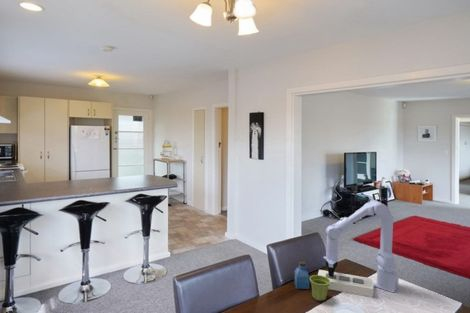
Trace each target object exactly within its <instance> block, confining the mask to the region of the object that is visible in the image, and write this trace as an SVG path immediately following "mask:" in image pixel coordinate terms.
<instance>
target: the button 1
mask: <svg viewBox="0 0 470 313" xmlns="http://www.w3.org/2000/svg"><path fill="white" fill-rule="evenodd" d="M326 277H327V278H331V279H336V275H333V276H329V274H328V273H327V276H326Z"/></svg>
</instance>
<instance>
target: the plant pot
mask: <svg viewBox="0 0 470 313" xmlns="http://www.w3.org/2000/svg"><path fill="white" fill-rule="evenodd" d="M309 277H310V279H309V282H310V284H311V293H312V294H311V295H312V298H313V299H315V301H320V302H321V301H325V300H327V295H328V291H329V289H328V286H329V284H330V282H331V281H330V279H328V278H327V277H324V276H321V275H318V274H316V275H315V274H313V275H311V276H309Z"/></svg>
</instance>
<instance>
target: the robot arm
mask: <svg viewBox="0 0 470 313" xmlns="http://www.w3.org/2000/svg"><path fill="white" fill-rule="evenodd" d="M392 214H393V213H392V212H391V211H390V208H389V206H387V205H386V204H384V203H382V202H380V201H378V200H376V199H371V200H369V201H368V202H366V203H365V204H363V206H361V207H360V208H359V209H357V210H356V211H355V212H354V213H352V214H351V215H349V216H348V217H347V216H344V217H341V218H339V219H340V220H338V221H337V222H335V223H332V225H328V226H327V227H326V229H325V234H326V245H325V246H326V248H325V250H326V251H325V252H326V253H325V256H323V260H325V266H326V268H327V271H328V274H329V276H333V275H334V272H336V271H335V270H336V269H337V266H338V261H339V258H338V256H339V239H340V237H341V235H342V234H343V233H344V232H346V231H348V230H349V229H351V228H352V227H353V224H354V223H355V222H358V220H361V219H362V218H364V217H366V216H375V215H376V216H377V217H378V218H380V240H379V241H380V243H379V244H380V246H379V250H378V251H377V255H376V258H375V262H376V263H377V269H376V270H377V273H376V274H377V275H376V282H375V283H374V284H373V287H375V288H379V289H382V290H384V291H387V292H391V293H395V292H396V291H397V290H398V289H399V280H400V279H399V275H400V274H399V272H396V271H395V270H396V268H397V264H396V261H395V256H394V254H393V232H394V231H393V230H394V216H393V215H392Z"/></svg>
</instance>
